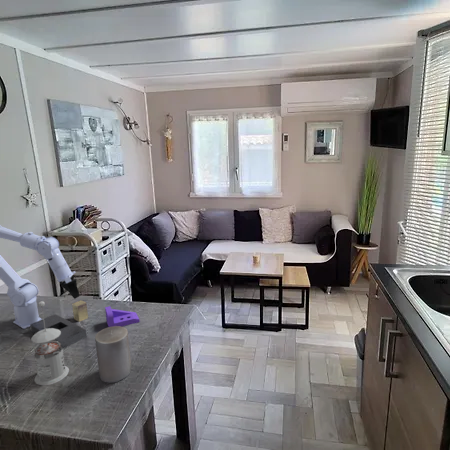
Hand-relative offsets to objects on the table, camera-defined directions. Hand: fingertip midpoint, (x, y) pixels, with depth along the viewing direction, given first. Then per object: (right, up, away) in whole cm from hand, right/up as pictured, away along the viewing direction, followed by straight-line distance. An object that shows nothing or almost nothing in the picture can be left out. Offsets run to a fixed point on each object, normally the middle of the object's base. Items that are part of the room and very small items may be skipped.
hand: (76, 296), depth 135 cm
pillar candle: (+25, -18, -29) cm, 43 cm away
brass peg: (-1, -11, +6) cm, 12 cm away
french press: (+5, -19, -28) cm, 34 cm away
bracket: (+18, -12, +3) cm, 22 cm away
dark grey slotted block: (-4, -13, -5) cm, 15 cm away
